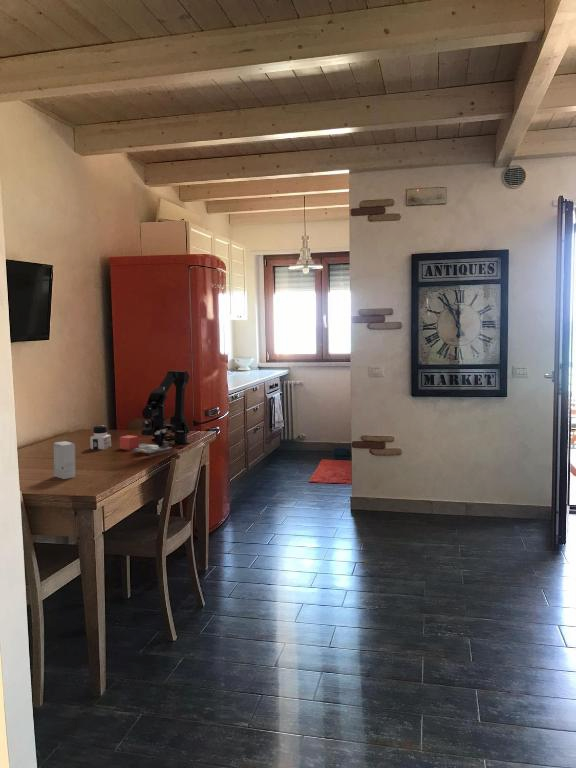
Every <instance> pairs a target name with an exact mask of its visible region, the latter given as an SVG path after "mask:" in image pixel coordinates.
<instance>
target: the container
mask: <svg viewBox="0 0 576 768" xmlns="http://www.w3.org/2000/svg"><path fill="white" fill-rule="evenodd" d="M107 431H108V429H107V426H106V425H103V424H100V425H99V424H98V425H95V426H93V435H92V436H90V437H89V442H90V443H89V444H90V449H91V450H106V449H108V448H110V447H112V438H111V434H108V432H107Z"/></svg>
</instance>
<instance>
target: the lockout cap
mask: <svg viewBox="0 0 576 768" xmlns="http://www.w3.org/2000/svg"><path fill="white" fill-rule="evenodd" d="M139 441H140V439H139V436H137V435H130V434H127V435H124V436H119V449H120V450H124V449H126V451H131V450H132V449H135V448H139V444H140V442H139Z"/></svg>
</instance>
